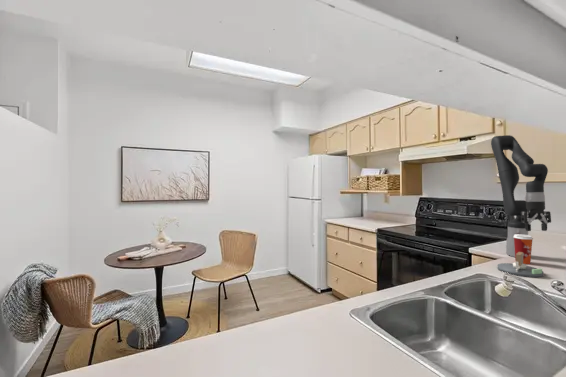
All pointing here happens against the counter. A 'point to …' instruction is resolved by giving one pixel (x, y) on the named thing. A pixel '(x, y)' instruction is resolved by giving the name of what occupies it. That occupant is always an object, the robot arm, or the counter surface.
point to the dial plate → (520, 270)
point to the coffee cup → (523, 246)
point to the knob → (519, 261)
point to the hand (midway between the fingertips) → (536, 230)
